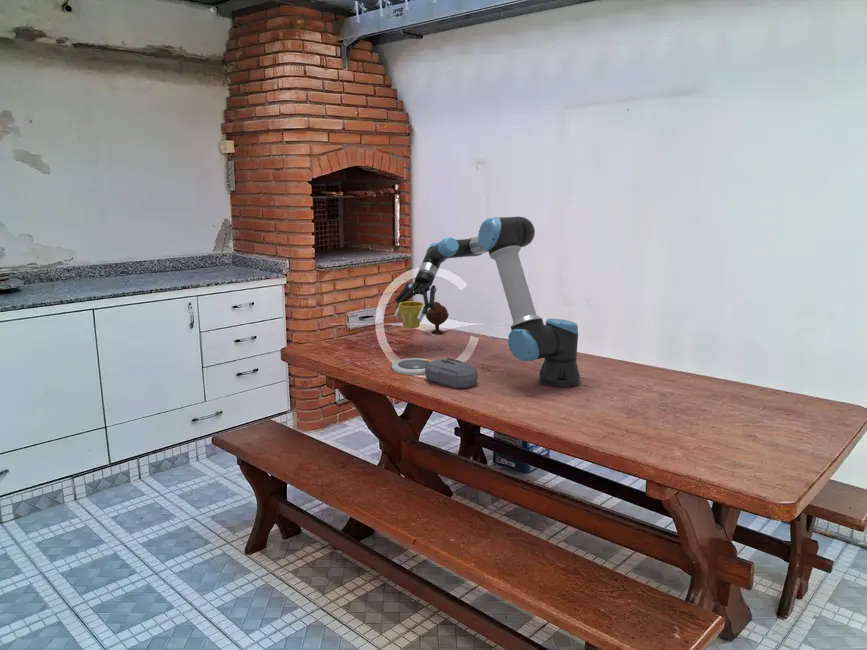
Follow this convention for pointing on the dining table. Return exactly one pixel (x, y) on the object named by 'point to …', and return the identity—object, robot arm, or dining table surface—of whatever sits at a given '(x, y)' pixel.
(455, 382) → the soft grey pack
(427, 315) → the ice cream bowl
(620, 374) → the dining table surface
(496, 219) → the robot arm
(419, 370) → the base
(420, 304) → the plant pot
